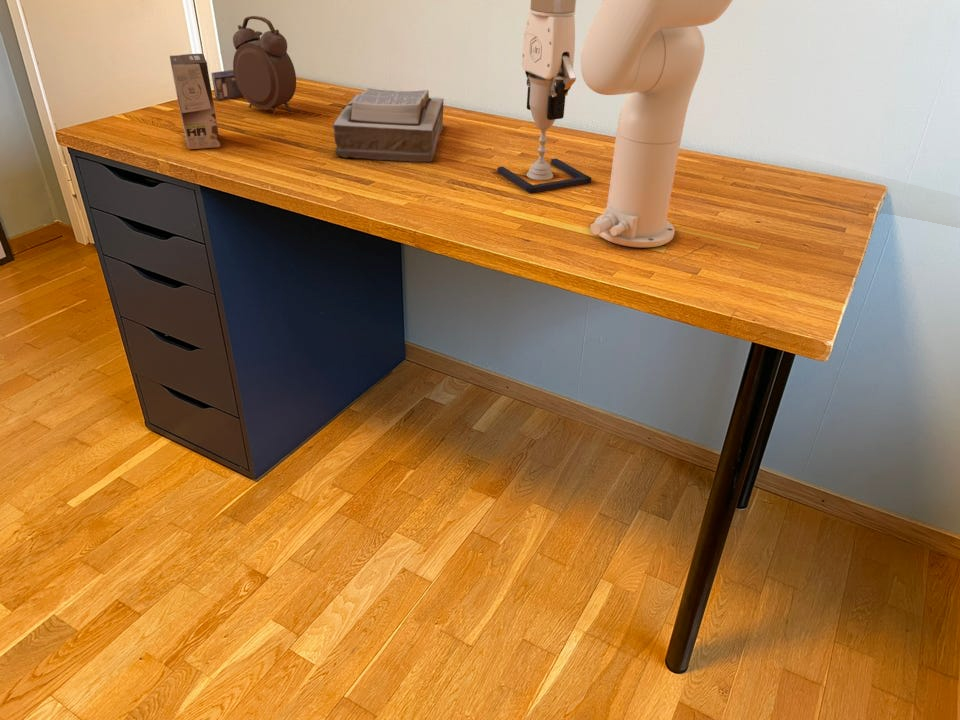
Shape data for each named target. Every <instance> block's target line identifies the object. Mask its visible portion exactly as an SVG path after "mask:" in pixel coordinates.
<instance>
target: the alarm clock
mask: <svg viewBox="0 0 960 720" xmlns="http://www.w3.org/2000/svg"><path fill="white" fill-rule="evenodd" d="M250 20H256V21H261V22H263V23H264V24H266V25H267V26H268V28H269V30H267V31H265V32H264V33H263V32H262V31H260V30H254V29H252V28H250V27H247V26H248V24H249V23H248V22H249V21H250ZM242 21H243V22H242V25H241V24H238V25H237V29H238V30H237V31H236V32H235V33H234V34H233V37H232V43H233V47H234V49H235V52H234V55H233V59H232V70H233V71H234V77H235V80H236V83H237V86H238V88H239V90H240V92H241V94H242V95H243V98H244V100H245V101H247V103H249V105H248V108H249V109H252V107H254V108H255V109H259V110H270V109H272V111H273V114H274V115H277V111H276V108H278V107H280V106H285V108H286V109H287V112H288V113H291V109H290V106H289V103H288V102H290V101H291V100H292V99H293V97H294V96H295V93H296V88H297V75H296V69H295V66H294V63H293V60H292V58H291V57H290V55H289V54H288V42H287V39H286V38H285V36H284V35H283V34H282V33H280V30H279V29H275V27H274V25H273V23H272V21H271V20H269V19H268V18H266V17H263V16H259V15H250V16H246V17H244V19H243V20H242Z"/></svg>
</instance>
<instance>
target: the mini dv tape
mask: <svg viewBox="0 0 960 720" xmlns="http://www.w3.org/2000/svg"><path fill="white" fill-rule="evenodd" d="M211 80H212V85H213V94H214V98H215V100H217V101H222V100H229V99H236V98H242V97H243V98H244V96H243V95H242V94H241V92H240V90H239V88H238V86H237V83H236V80H235V77H234V71H233V69H230V70H229V69H228V70H222V71H215V72H214V71H213V72H211Z"/></svg>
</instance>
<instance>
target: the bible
mask: <svg viewBox="0 0 960 720" xmlns="http://www.w3.org/2000/svg"><path fill="white" fill-rule="evenodd" d="M429 95H430V94H429V90H428V89H424V90H423V89H421V90H409V91H404V90H402V91H401V90H399V91H398V90H387V89H385V90H384V89H378V88H372V87H371V88H370V87H367V88H366V89H365V90H363V92H361V93H357V94H355V95H354V96H353V97H352V98H351V100H350V101H349V102H348V103H347V104H346V105H343V107H342V108H341V110H342V111H341V112H340V113H339V115H338V117H337V118H336V119H335V121H334V122H333V124H332V127H333V137H334V143H335V145H336V148H335V149H334V152H335V155H336V156H337V157H342V158H344V159H347V158H354V159H370V160H376V161H399V162H415V163H417V162H419V163H420V162H421V163H422V162H423V163H426V162H432V161H433V158H434V155H435V153H436V150H437V149H436V148H437V145H438V140H439V137H440V134H442V133H441V132H442V131H443V128H444V125H443V123H444V122H443V121H444V120H443V119H444V101H445V99H444V98H443V97H442V98H441V97H430V96H429Z"/></svg>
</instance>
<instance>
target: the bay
mask: <svg viewBox="0 0 960 720" xmlns="http://www.w3.org/2000/svg"><path fill="white" fill-rule="evenodd" d="M550 160H551V161H550V164H551V165H552V166H553V167H554V168H555V167H556V168H557V169H558V170H560V171H562V172H564V173H566V174H568V176H569V175H570V176H571V177H572V178H568V179H567V178H566V179H561V180H555V181H549V182H542V183H536V184H532V183H530V182H529V181H527V180H525V179H523V178H522V177H521V176H519V175H517V174H516V173H514V172H512V171H511V170H510V169H507V167H504V166H497V173H498V174H500V175H501V176H503V177H504V178H505V179H507V180H508V181H510V182H511V183H513V184H515V185H516V186H518V187H520V189H523V190H524V191H525V192H527V193H528V194H534V193H535V194H536V193H540V192H547V191H551V190H552V191H553V190H558V189H564V188H570V187H576V186H582V185H588V184H592V177H591V176H589V175H588V174H586V173H584V172H582V171H580V170H578V169H577V168H575V167H573V166H571V165H569V164H567V163H566V162H564V161H562V160H560V159H558V158H551V159H550Z"/></svg>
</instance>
